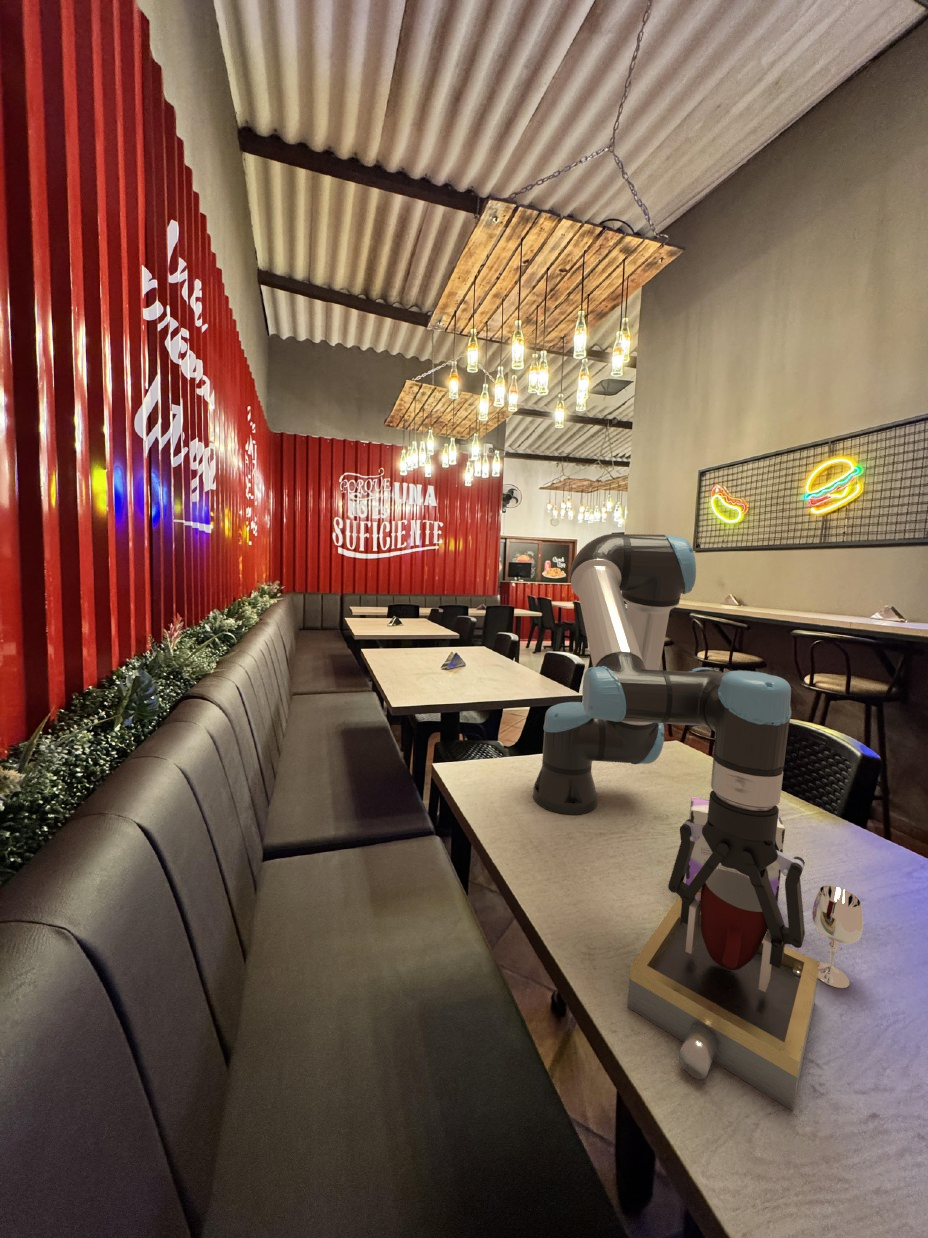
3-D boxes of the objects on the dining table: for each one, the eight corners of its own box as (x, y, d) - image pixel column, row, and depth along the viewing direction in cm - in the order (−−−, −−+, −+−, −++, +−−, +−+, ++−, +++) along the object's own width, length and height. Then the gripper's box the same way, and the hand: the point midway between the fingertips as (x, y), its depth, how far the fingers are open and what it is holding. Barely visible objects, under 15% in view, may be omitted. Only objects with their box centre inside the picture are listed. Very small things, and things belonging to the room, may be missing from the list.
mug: (770, 1012, 58) (786, 936, 57) (695, 985, 61) (709, 912, 59) (753, 947, 68) (766, 880, 66) (689, 926, 71) (700, 862, 69)
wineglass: (795, 959, 73) (804, 883, 72) (831, 958, 73) (841, 882, 72) (827, 993, 67) (837, 911, 66) (866, 991, 68) (877, 910, 66)
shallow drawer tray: (614, 1028, 61) (617, 985, 60) (674, 932, 78) (678, 898, 77) (786, 1144, 49) (792, 1092, 49) (814, 1002, 66) (819, 962, 65)
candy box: (770, 903, 85) (780, 812, 83) (776, 925, 80) (787, 829, 78) (682, 880, 91) (690, 794, 89) (682, 899, 86) (691, 808, 84)
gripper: (649, 780, 66) (636, 939, 68) (845, 842, 52) (820, 1037, 55) (669, 764, 71) (656, 911, 74) (850, 816, 58) (827, 994, 60)
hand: (726, 964), depth 64 cm, fingers closed on mug, 8 cm apart
